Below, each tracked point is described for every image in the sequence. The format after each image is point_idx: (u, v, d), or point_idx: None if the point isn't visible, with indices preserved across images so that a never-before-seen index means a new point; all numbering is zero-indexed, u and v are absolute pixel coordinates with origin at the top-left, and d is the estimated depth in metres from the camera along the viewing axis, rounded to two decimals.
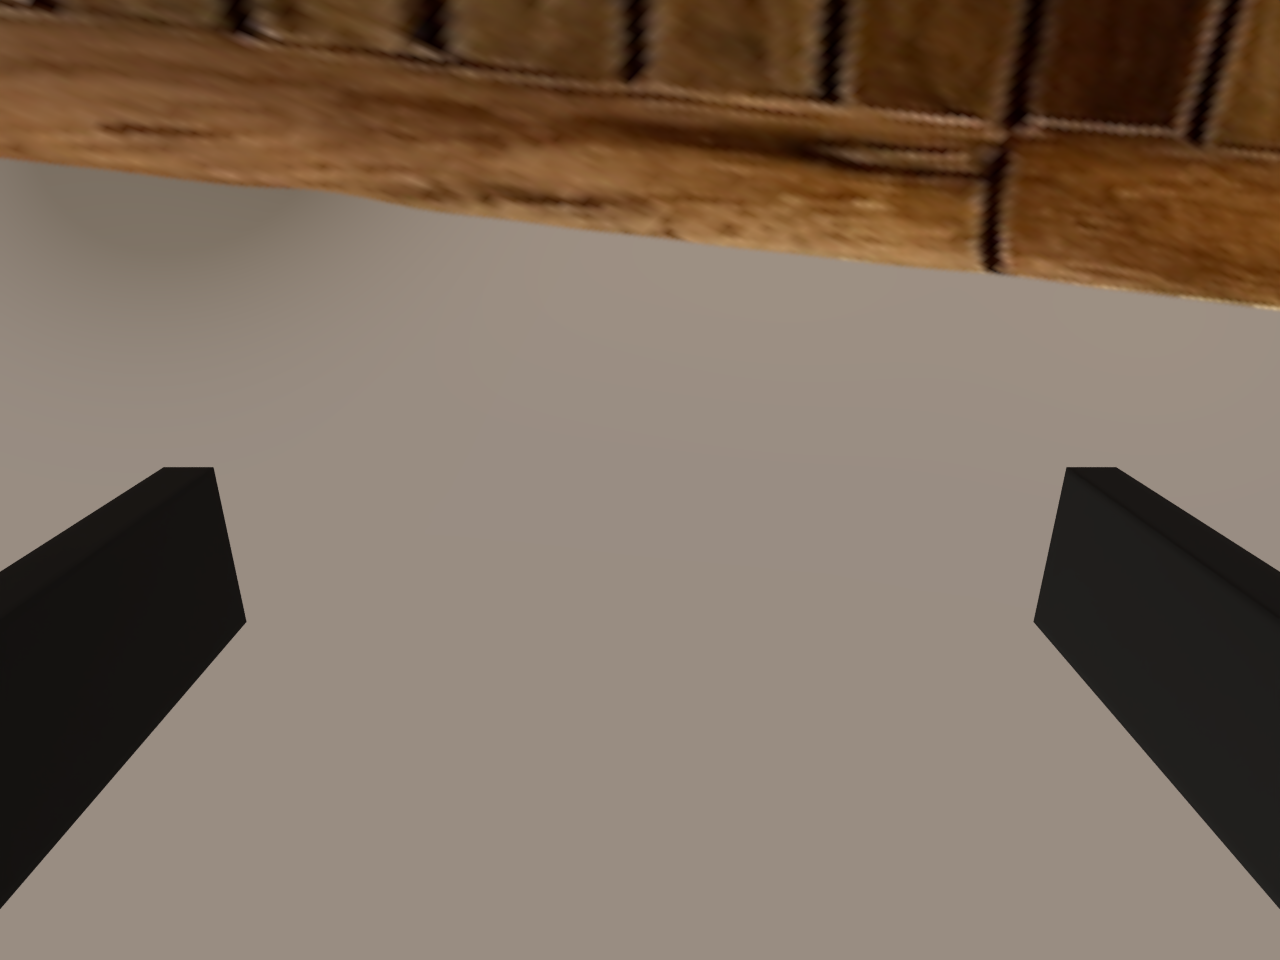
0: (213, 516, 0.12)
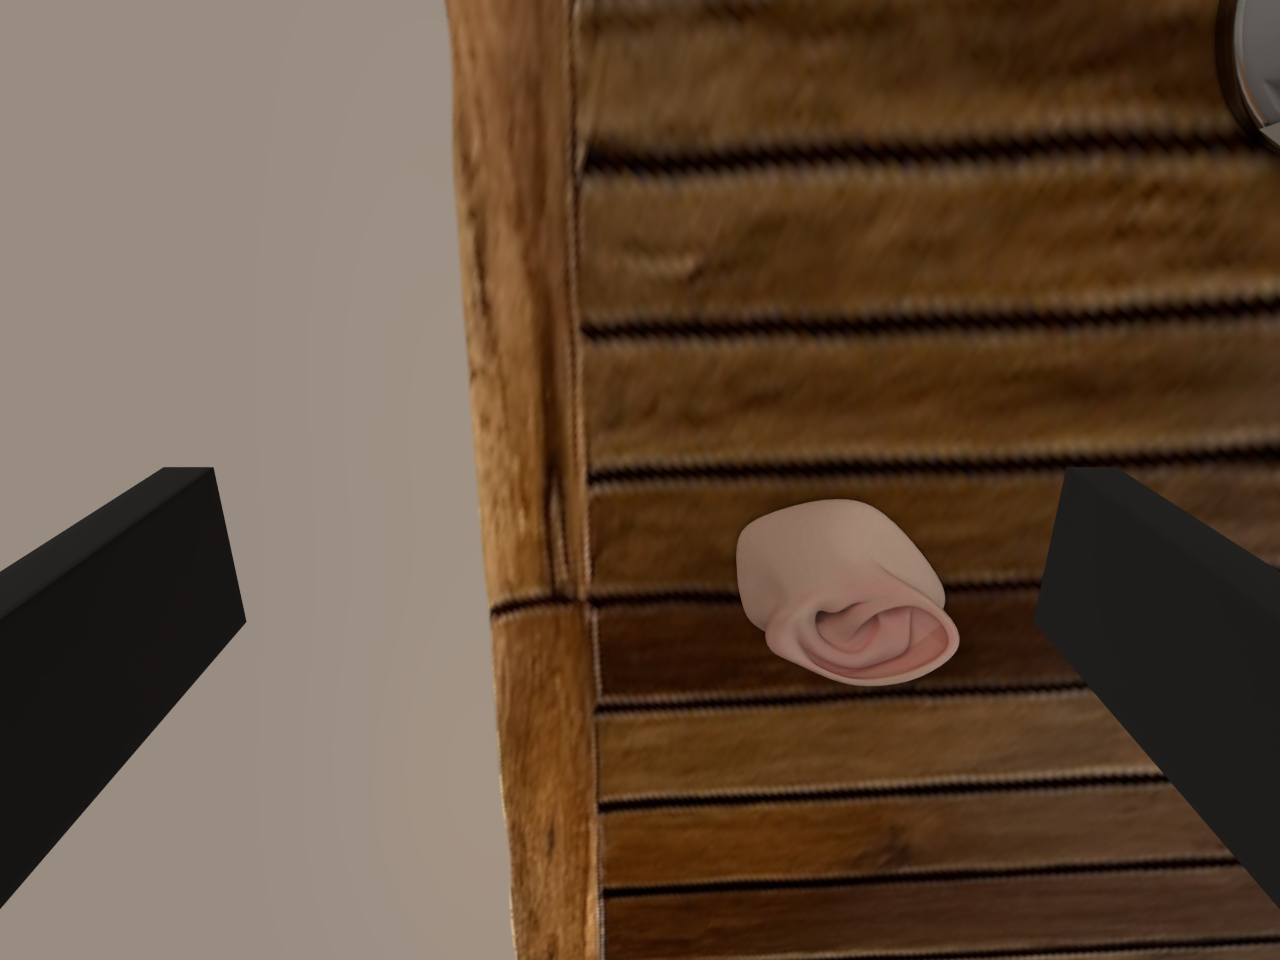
0: (213, 515, 0.12)
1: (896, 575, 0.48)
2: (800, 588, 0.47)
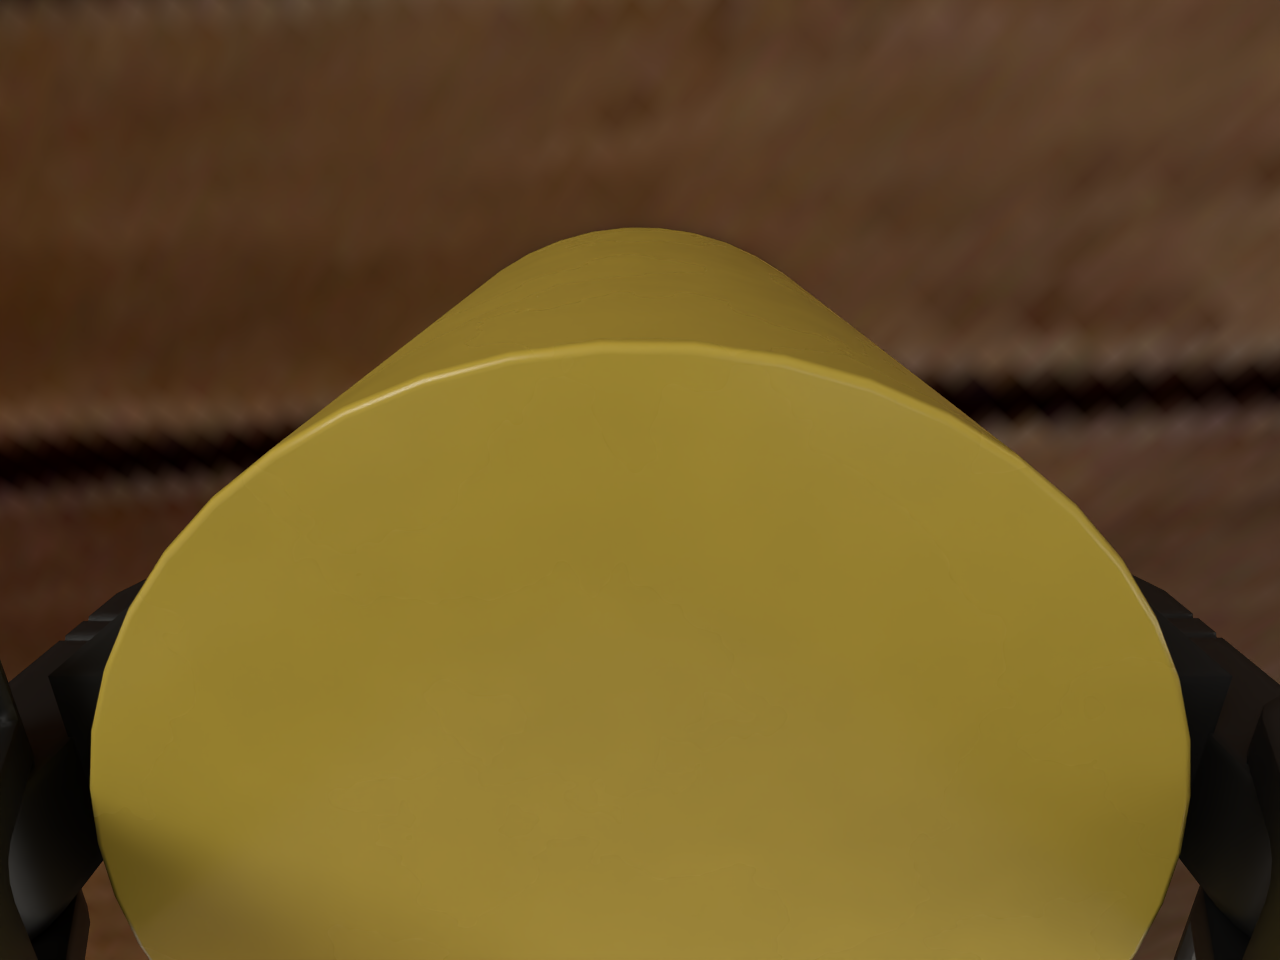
0: None
1: None
2: None
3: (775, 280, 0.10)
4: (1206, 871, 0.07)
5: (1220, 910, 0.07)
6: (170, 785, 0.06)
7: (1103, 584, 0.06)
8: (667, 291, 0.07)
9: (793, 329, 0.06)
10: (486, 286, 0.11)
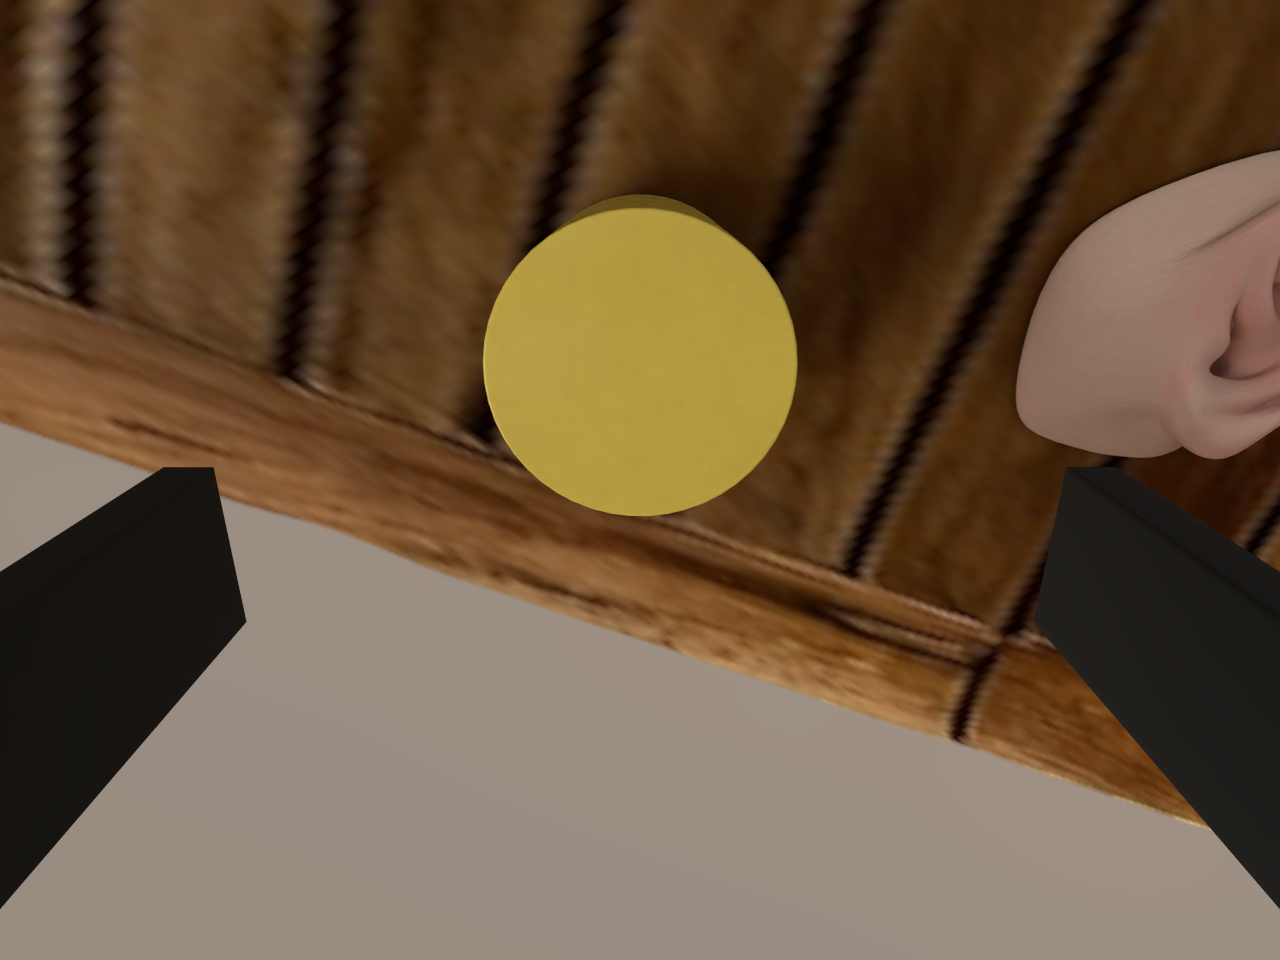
0: (213, 515, 0.12)
1: (1227, 227, 0.29)
2: (1156, 385, 0.30)
3: (692, 210, 0.26)
4: None
5: None
6: (508, 340, 0.23)
7: (760, 274, 0.22)
8: (648, 203, 0.23)
9: (683, 211, 0.23)
10: None
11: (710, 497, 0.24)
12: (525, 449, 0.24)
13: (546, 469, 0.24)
